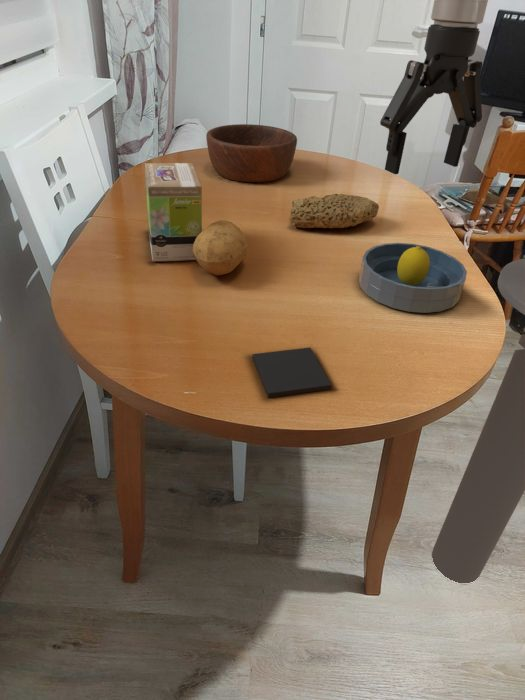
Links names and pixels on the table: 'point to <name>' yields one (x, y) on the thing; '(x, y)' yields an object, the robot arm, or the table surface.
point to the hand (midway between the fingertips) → (421, 168)
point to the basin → (425, 297)
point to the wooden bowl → (251, 152)
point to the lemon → (413, 266)
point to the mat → (290, 372)
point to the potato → (220, 247)
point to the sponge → (332, 211)
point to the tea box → (173, 210)
